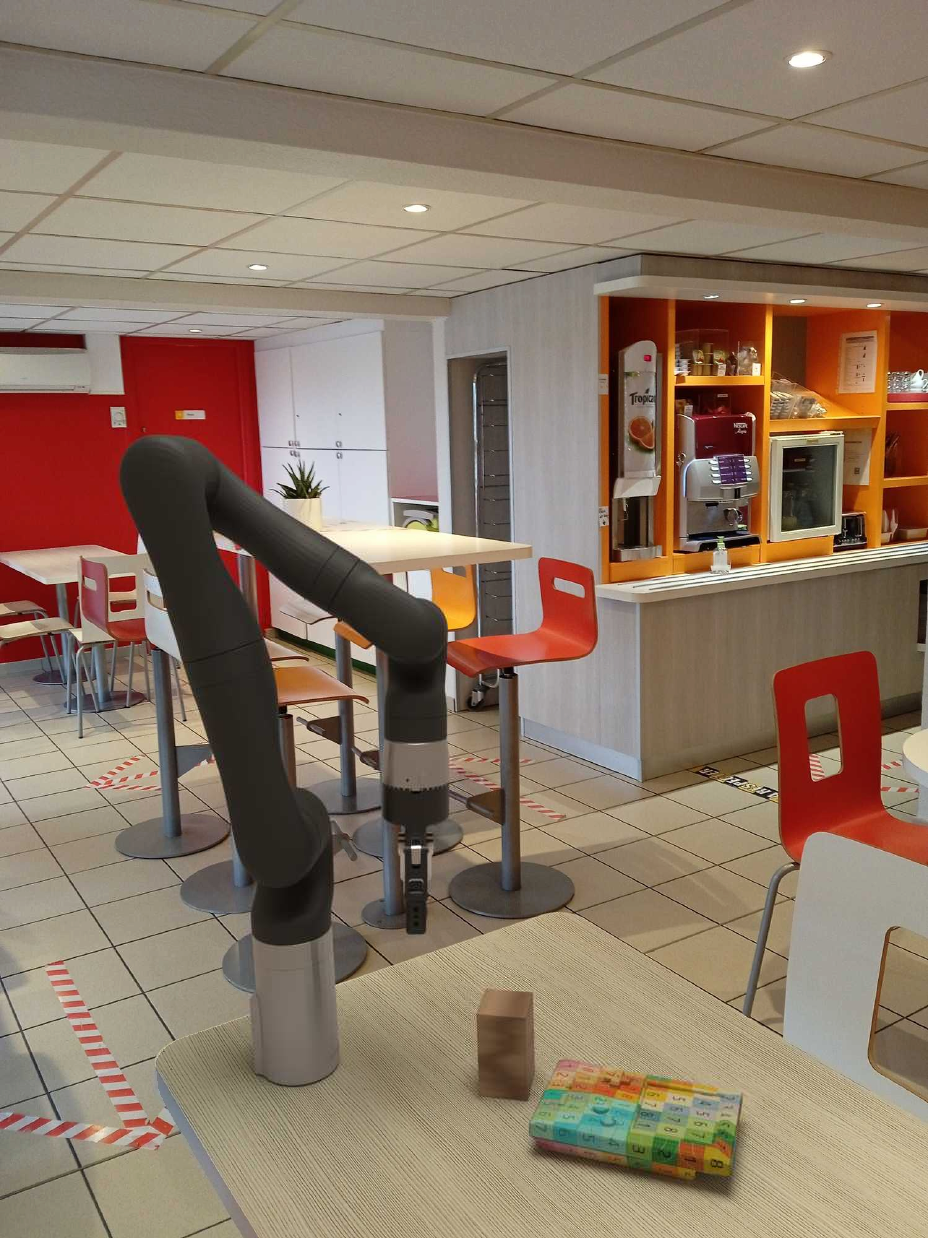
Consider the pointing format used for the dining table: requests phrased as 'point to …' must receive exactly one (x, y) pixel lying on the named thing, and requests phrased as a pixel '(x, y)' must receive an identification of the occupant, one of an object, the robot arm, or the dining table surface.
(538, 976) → the dining table surface
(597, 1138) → the puzzle game
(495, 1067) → the walnut block
